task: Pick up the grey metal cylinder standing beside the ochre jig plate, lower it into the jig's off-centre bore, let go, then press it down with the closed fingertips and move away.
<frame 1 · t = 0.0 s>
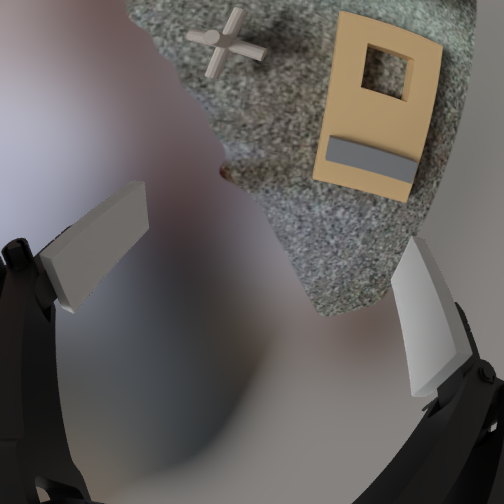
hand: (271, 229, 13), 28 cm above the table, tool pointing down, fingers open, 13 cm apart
jig: (377, 105, 30), on the table
pipe connector: (237, 47, 30), on the table
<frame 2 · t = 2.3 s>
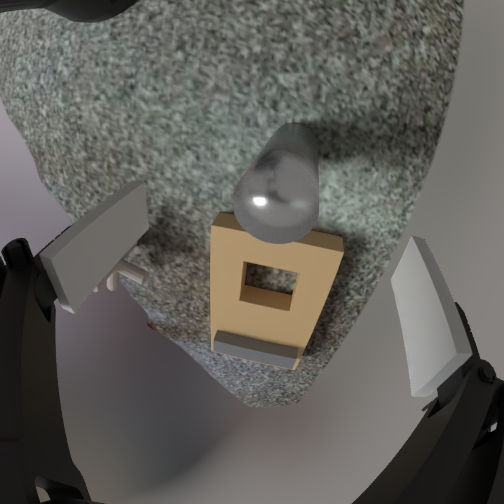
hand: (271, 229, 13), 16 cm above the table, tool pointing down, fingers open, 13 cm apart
jig: (266, 299, 37), on the table
grey metal cylinder: (294, 144, 25), on the table
pipe connector: (133, 239, 37), on the table
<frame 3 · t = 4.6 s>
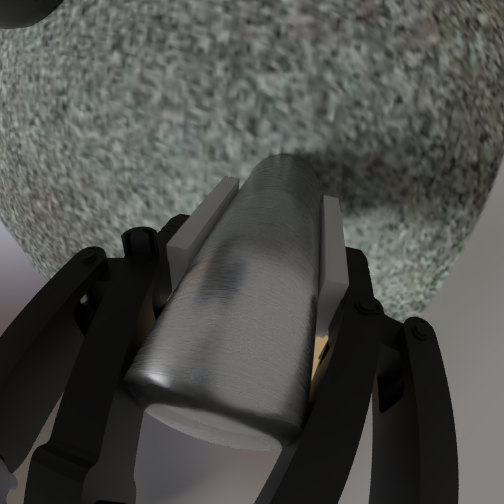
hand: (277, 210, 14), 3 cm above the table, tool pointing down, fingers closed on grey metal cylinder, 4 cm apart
grey metal cylinder: (284, 188, 17), on the table, touching gripper
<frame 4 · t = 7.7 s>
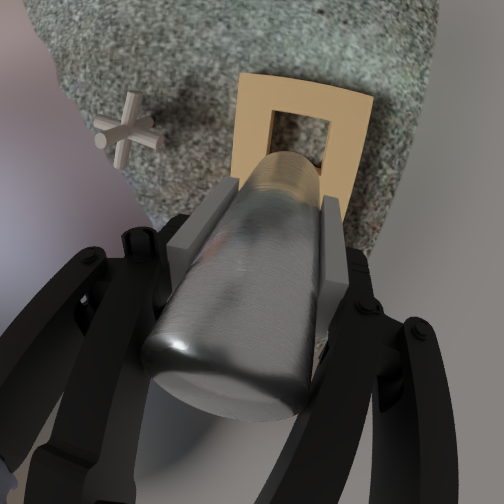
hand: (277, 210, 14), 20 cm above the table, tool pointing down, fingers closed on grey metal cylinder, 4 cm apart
jig: (292, 176, 33), on the table
grey metal cylinder: (285, 183, 17), point 16 cm above the table, touching gripper
pipe connector: (148, 122, 32), on the table
when the fingers open (5 cm above the table, at t = 10.9 s): grey metal cylinder stays where it is, resting in jig.
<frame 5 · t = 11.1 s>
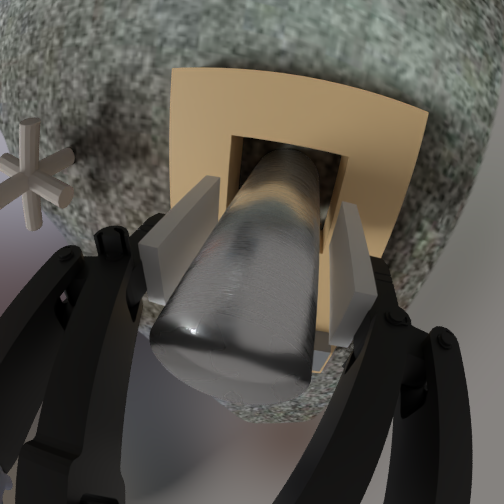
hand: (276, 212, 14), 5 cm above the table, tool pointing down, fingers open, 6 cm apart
jig: (275, 241, 21), on the table
grey metal cylinder: (286, 180, 18), resting in jig
pipe connector: (70, 155, 20), on the table
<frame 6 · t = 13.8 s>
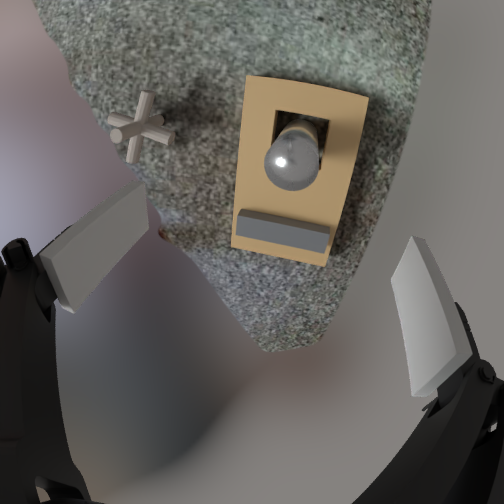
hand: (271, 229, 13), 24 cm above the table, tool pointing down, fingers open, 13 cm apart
jig: (294, 171, 35), on the table
grey metal cylinder: (300, 135, 32), resting in jig
pipe connector: (159, 120, 35), on the table
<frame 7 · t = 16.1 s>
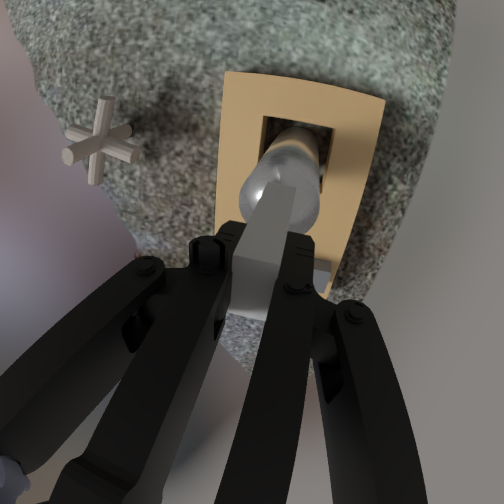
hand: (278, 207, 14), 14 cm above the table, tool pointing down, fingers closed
jig: (288, 192, 29), on the table
grey metal cylinder: (296, 147, 26), resting in jig, touching gripper
pipe connector: (127, 130, 28), on the table
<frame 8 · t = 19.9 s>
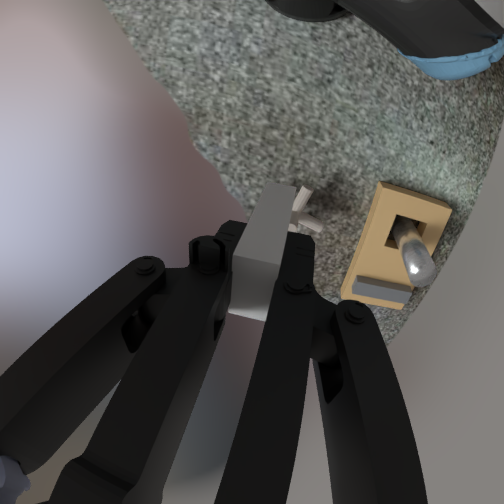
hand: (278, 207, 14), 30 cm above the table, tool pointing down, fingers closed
jig: (392, 248, 47), on the table
grey metal cylinder: (401, 226, 44), resting in jig
pipe connector: (295, 200, 46), on the table
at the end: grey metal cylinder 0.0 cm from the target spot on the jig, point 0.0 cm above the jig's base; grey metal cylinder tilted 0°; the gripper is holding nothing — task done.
